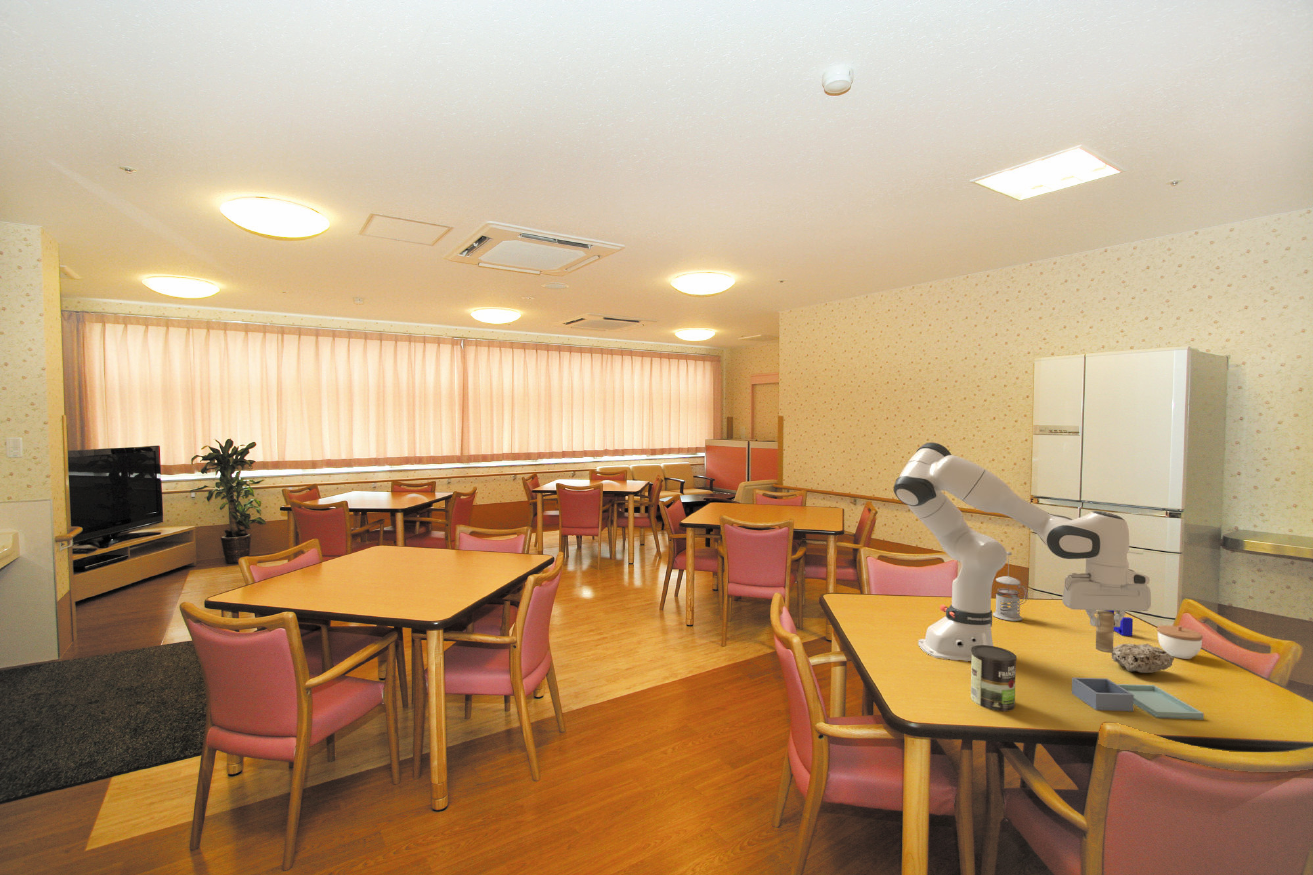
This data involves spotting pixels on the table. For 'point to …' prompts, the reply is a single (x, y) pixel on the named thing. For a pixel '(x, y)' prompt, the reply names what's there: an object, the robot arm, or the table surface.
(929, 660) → the table surface
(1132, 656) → the pumice stone
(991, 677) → the coffee can
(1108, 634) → the dowel
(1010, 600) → the french press
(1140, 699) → the tray
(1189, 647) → the lidded jar
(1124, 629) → the cable clip
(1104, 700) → the grey open box
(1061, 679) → the table surface
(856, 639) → the table surface
